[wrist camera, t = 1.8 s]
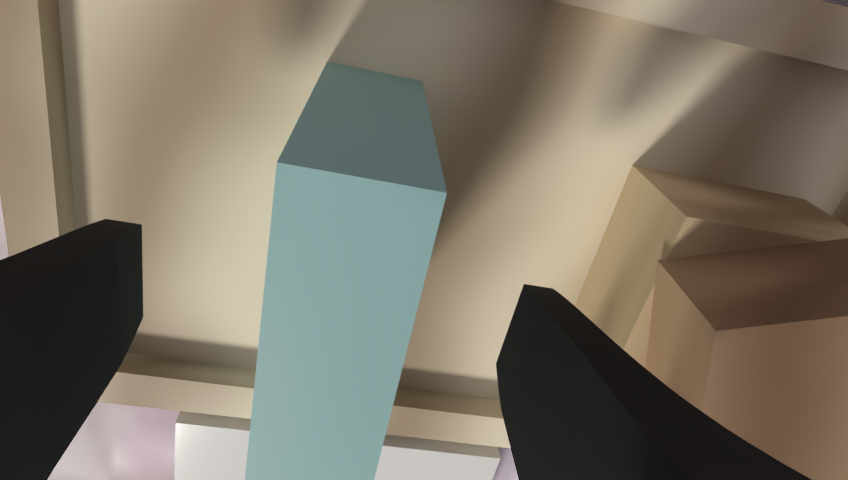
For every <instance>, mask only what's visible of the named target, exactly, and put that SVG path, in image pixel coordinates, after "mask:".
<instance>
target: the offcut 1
mask: <svg viewBox="0 0 848 480" xmlns="http://www.w3.org/2000/svg"><path fill="white" fill-rule="evenodd" d="M846 238H848V226H846V225H845V224H843V223H842V222H840V221H839V220H837V219H835V218H834V217H832V216H831V215H829V214H827V213H826V212H824V211H823V210H821V209H820V208H818V207H816V206H815V205H813V204H812V203H810V202H809V201H807V200H805V199H802V198H797V197H792V196H787V195H782V194H777V193H772V192H767V191H761V190H756V189H751V188H746V187H741V186H736V185H731V184H726V183H721V182H716V181H711V180H705V179H700V178H695V177H690V176H685V175H680V174H675V173H670V172H665V171H660V170H655V169H649V168H644V167H639V166H634V165H632V167H631V169H630V172H629V174H628V177H627V179H626V181H625V184H624V186H623V189H622V191H621V194H620V196H619V199H618V201H617V204H616V206H615V208H614V211H613V213H612V216H611V218H610V221H609V223H608V226H607V228H606V231H605V233H604V235H603V238H602V240H601V243H600V245H599V248H598V250H597V253H596V255H595V257H594V260H593V262H592V265H591V267H590V270H589V272H588V275H587V277H586V280H585V282H584V284H583V287H582V289H581V292H580V294H579V297H578V299H577V302H576V304H575V307H576V308H578V309H579V310H580V311H581V312H582V313H583V314H584V315H585V316H586V317H588V318H589V319H590V320H591V321H592V322H593V323H594V324H595V325H596V326H597V327H599V328H600V329H601V330H602V331H603V332H604V333H605V334H606V335H607V336H608V337H610V338H611V339H612V340H613V341H614V342H615V343H616V344H617V345H619V346H620V347H621V348H622V349H623V350H624V351H625V352H627V353H628V354H629V355H630V356H631V357H632V358H634V359H635V360H636V361H637V362H638V363H639V364H641V365H642V366H643V367H644V368H645V367H646V358H647V349H648V341H649V332H650V323H651V314H652V305H653V296H654V287H655V278H656V269H657V260H663V259H671V258H680V257H689V256H698V255H706V254H715V253H724V252H732V251H741V250H750V249H759V248H767V247H776V246H785V245H794V244H802V243H811V242H820V241H829V240H837V239H846Z"/></svg>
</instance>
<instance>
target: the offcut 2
mask: <svg viewBox="0 0 848 480" xmlns="http://www.w3.org/2000/svg"><path fill="white" fill-rule="evenodd" d="M645 369H647V370H648V371H649V372H650V373H652V374H653V375H654V376H655V377H657V378H658V379H659V380H660V381H662V382H663V383H664V384H665V385H667V386H668V387H669V388H670V389H672V390H673V391H674V392H676V393H677V394H678V395H680V396H681V397H682V398H684V399H685V400H686V401H688V402H689V403H690V404H692V405H693V406H695V407H696V408H698V409H699V410H700V411H702V412H703V413H705V414H706V415H708V416H709V417H710V418H712V419H713V420H715V421H716V422H718V423H719V424H720V425H722V426H723V427H725V428H726V429H728V430H729V431H731V432H733V433H734V434H736V435H737V436H739V437H740V438H742V439H743V440H745V441H747V442H748V443H750V444H752V445H753V446H755V447H757V448H758V449H760V450H762V451H763V452H765V453H767V454H768V455H770V456H772V457H773V458H775V459H777V460H778V461H780V462H781V463H783V464H785V465H787V466H788V467H790V468H792V469H794V470H795V471H797V472H799V473H801V474H803V475H804V476H806V477H808V478H810V479H812V480H848V238H846V239H837V240H829V241H820V242H811V243H802V244H794V245H785V246H776V247H767V248H759V249H750V250H741V251H732V252H724V253H715V254H706V255H698V256H689V257H680V258H671V259H663V260H657V269H656V278H655V287H654V296H653V305H652V314H651V323H650V332H649V341H648V349H647V358H646V367H645Z"/></svg>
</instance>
